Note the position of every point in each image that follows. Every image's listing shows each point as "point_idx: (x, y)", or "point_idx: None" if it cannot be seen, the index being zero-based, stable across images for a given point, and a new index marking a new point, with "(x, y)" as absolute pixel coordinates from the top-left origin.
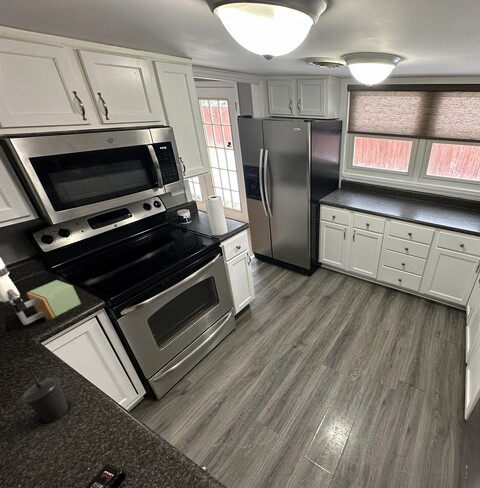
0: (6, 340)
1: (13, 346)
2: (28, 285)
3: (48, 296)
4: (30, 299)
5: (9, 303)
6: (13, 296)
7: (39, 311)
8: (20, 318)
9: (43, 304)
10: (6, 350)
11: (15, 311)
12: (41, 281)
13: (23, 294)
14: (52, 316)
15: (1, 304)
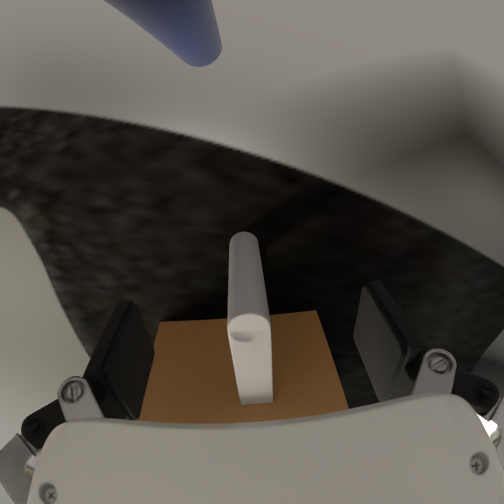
0: (108, 122)
1: (30, 138)
2: (496, 332)
3: None
4: (329, 373)
5: (359, 325)
6: (8, 484)
7: (279, 314)
8: (235, 251)
9: (170, 387)
10: (25, 111)
11: (123, 310)
12: (476, 358)
13: (477, 312)
14: (161, 323)
15: (387, 297)
